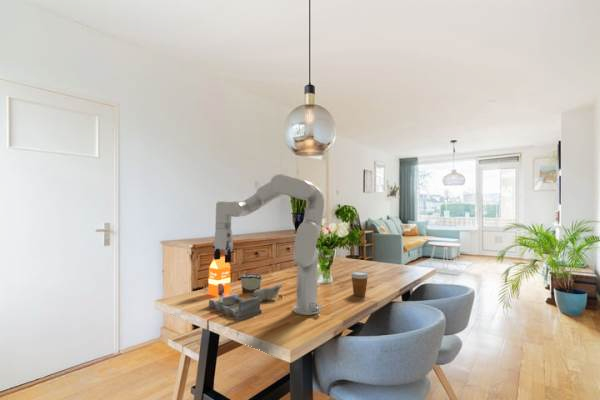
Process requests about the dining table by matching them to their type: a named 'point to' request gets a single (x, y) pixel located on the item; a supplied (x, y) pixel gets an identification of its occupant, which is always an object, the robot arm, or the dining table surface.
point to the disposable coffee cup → (359, 282)
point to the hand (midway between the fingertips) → (222, 260)
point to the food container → (250, 283)
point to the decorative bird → (267, 292)
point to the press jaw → (226, 296)
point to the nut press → (239, 308)
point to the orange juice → (219, 276)
